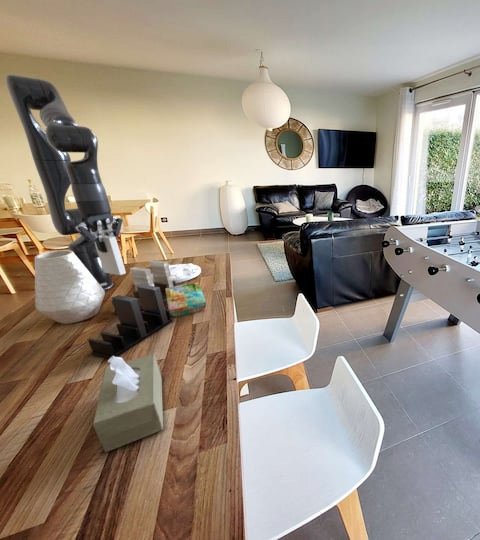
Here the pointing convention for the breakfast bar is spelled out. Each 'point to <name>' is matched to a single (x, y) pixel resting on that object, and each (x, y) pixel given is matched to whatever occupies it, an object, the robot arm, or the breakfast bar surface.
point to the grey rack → (133, 322)
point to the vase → (65, 288)
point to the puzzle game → (185, 299)
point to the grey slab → (144, 277)
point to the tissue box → (129, 402)
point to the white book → (111, 257)
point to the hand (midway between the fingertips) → (108, 250)
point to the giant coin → (183, 272)
